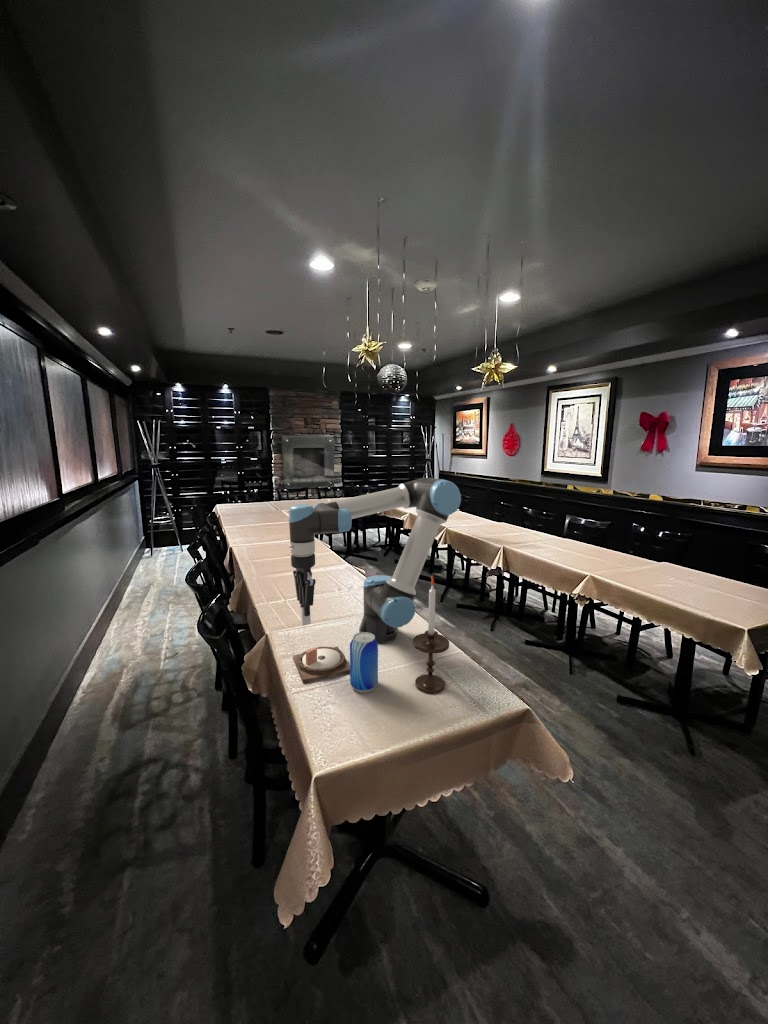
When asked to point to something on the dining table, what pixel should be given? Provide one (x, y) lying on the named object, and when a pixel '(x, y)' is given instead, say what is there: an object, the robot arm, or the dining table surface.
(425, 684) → the candlestick
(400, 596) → the robot arm
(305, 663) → the dial
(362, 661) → the beer can
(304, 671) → the dial housing
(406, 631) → the dining table surface
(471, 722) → the dining table surface
